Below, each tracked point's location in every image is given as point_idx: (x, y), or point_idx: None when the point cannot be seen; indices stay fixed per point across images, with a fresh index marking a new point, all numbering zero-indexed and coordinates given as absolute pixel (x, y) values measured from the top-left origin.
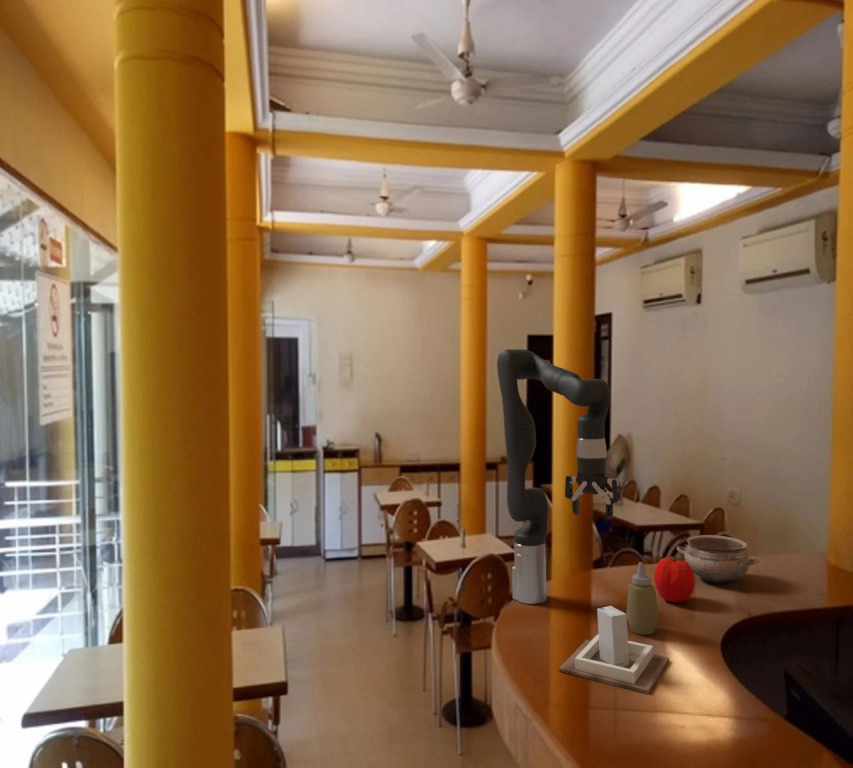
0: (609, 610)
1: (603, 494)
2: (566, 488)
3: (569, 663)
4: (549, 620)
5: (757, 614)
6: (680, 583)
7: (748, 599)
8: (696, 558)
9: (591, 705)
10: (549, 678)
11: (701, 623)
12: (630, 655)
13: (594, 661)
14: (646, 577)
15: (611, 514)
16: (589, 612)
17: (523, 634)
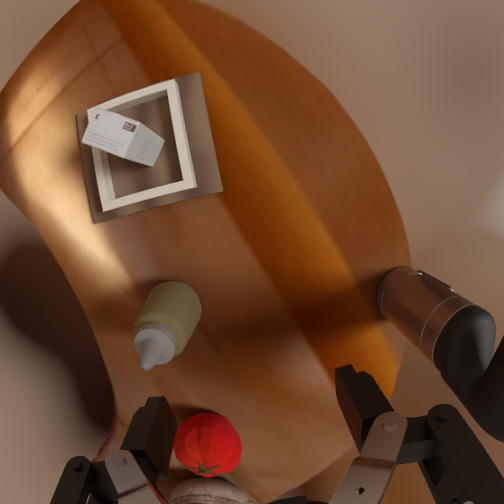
0: (111, 128)
1: (125, 498)
2: (473, 450)
3: (194, 93)
4: (329, 232)
5: (116, 425)
6: (182, 431)
7: None
8: (218, 494)
9: (122, 42)
10: (200, 50)
11: (137, 373)
12: (135, 187)
13: (144, 93)
14: (140, 346)
15: (134, 415)
16: (291, 311)
17: (329, 148)
